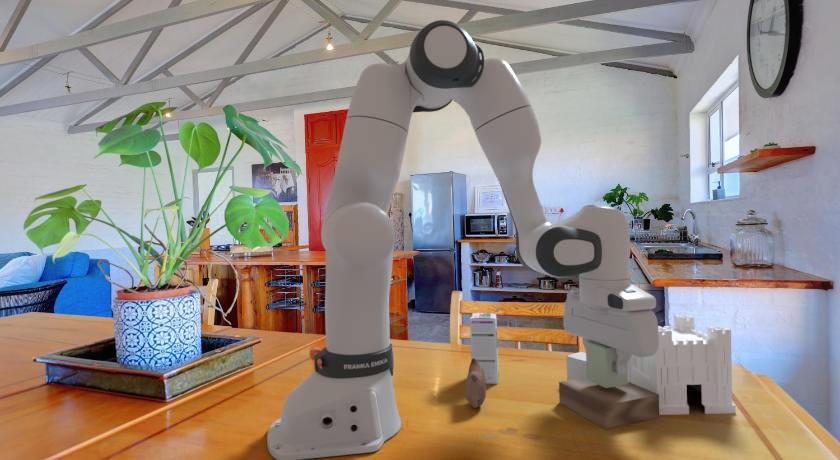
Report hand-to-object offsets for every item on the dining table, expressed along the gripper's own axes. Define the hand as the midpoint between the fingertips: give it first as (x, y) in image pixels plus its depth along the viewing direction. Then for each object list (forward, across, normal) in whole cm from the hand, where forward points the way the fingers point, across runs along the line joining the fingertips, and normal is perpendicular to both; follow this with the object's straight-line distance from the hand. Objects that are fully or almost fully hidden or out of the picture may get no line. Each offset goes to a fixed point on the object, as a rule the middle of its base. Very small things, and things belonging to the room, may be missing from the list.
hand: (606, 367), depth 81 cm
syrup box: (+8, -23, -13) cm, 28 cm away
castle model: (+8, +1, +15) cm, 17 cm away
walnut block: (+8, 0, 0) cm, 8 cm away
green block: (+3, 0, 0) cm, 3 cm away
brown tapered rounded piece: (+8, -12, -21) cm, 25 cm away
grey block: (+8, -12, +5) cm, 15 cm away
